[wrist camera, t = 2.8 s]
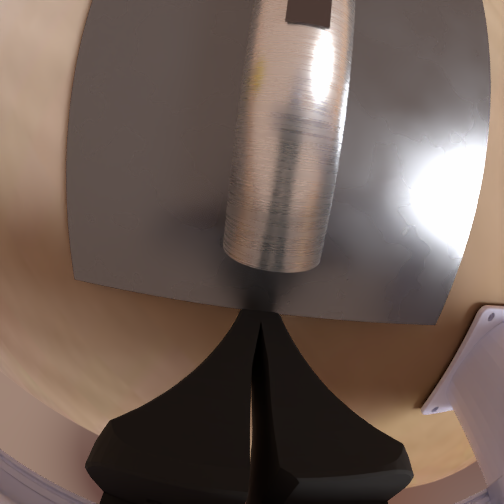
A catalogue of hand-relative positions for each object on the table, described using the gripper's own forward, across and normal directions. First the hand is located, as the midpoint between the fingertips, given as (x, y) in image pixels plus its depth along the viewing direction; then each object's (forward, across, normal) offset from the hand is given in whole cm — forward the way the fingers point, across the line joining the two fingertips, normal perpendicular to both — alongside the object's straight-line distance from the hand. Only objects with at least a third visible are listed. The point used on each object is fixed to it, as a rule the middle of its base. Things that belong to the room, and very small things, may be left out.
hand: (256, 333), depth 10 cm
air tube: (+1, 0, -10) cm, 10 cm away
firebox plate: (+1, 0, -13) cm, 13 cm away
